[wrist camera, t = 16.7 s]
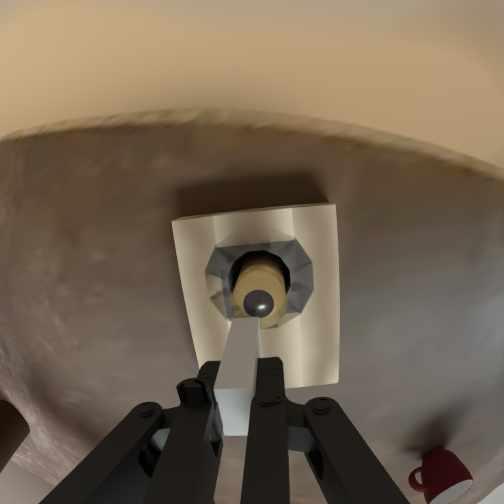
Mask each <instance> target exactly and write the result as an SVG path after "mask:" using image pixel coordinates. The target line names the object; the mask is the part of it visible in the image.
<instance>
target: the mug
mask: <svg viewBox="0 0 504 504" xmlns="http://www.w3.org/2000/svg"><path fill="white" fill-rule="evenodd" d="M418 472H421V479H422V484H420V483H418V482H417V480H416V479H415V474H416V473H418ZM408 481H409V484H410V486H411V487H412V488H413V489H414V490H416V491H418V492H424V497H425V500H426V502H427V504H448V503H450V502H452V501H454V500H455V499H457V498H458V497H460V496H461V495H463V494H464V493H465V492H466V491H467V490H468V489H469V488H470V487H471V486H472V484H473V478H472V476H471V474H470V472H469V471H468V469H467V468H466V467H465V465H464V464H463V463H462V462H461V461H460V460H459V459H458V458H457V456H456V455H455V454H454V453H452V452H451V451H449V450H446V449H444V448H441V447H439V448H435V449H433V450H431V451H430V452H428V453H427V454H426V455H425V456H424V458H423V461H422V466H421V467H418V468H416V469H415V470H413V471H412V472H411V474H410V475H409V479H408Z"/></svg>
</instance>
